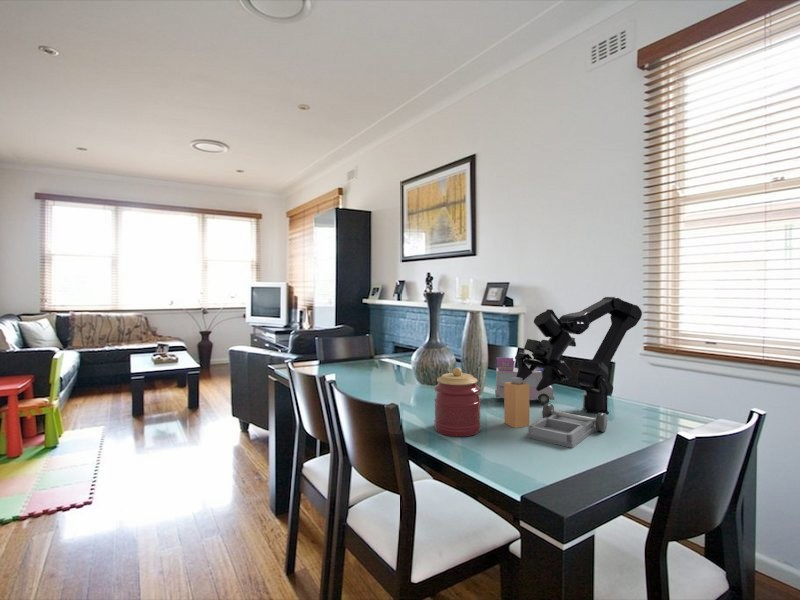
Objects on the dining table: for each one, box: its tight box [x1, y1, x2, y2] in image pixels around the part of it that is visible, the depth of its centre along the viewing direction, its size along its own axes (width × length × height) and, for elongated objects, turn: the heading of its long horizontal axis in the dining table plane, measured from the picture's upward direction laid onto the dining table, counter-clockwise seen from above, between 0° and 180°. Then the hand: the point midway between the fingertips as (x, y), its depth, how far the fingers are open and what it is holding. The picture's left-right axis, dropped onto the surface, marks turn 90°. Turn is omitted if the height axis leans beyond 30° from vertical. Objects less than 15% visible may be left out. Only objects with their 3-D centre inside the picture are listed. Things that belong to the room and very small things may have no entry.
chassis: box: [526, 402, 608, 449], centre depth 118 cm, size 22×17×5 cm
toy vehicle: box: [494, 356, 555, 405], centre depth 151 cm, size 9×20×15 cm, turn 78°
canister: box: [433, 366, 482, 438], centre depth 120 cm, size 13×13×18 cm
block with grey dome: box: [503, 377, 530, 429], centre depth 125 cm, size 5×5×14 cm
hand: (526, 386), depth 126 cm, fingers open, 9 cm apart
